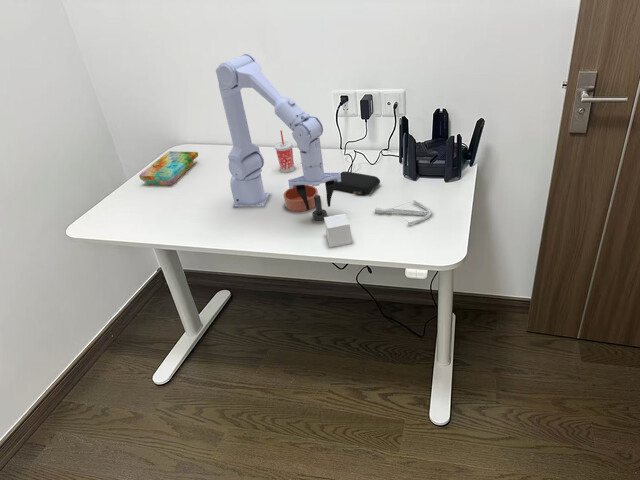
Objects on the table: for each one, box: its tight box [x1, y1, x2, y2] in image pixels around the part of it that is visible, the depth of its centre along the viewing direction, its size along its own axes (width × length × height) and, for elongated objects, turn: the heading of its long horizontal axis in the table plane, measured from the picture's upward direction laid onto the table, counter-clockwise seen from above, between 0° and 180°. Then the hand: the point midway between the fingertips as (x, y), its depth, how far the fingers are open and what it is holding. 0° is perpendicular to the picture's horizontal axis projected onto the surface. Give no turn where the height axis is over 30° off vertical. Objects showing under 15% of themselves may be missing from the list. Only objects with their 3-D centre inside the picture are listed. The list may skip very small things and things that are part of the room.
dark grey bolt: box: [311, 194, 328, 223], centre depth 155 cm, size 4×4×8 cm
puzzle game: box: [139, 150, 199, 186], centre depth 191 cm, size 12×5×20 cm
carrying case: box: [334, 171, 381, 196], centre depth 171 cm, size 11×3×15 cm
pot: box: [283, 185, 319, 213], centre depth 164 cm, size 10×10×4 cm
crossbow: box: [374, 199, 432, 226], centre depth 156 cm, size 16×13×2 cm
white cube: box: [323, 213, 353, 248], centre depth 146 cm, size 6×6×6 cm
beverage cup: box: [273, 130, 295, 173], centre depth 183 cm, size 6×6×14 cm
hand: (318, 206), depth 155 cm, fingers open, 5 cm apart
